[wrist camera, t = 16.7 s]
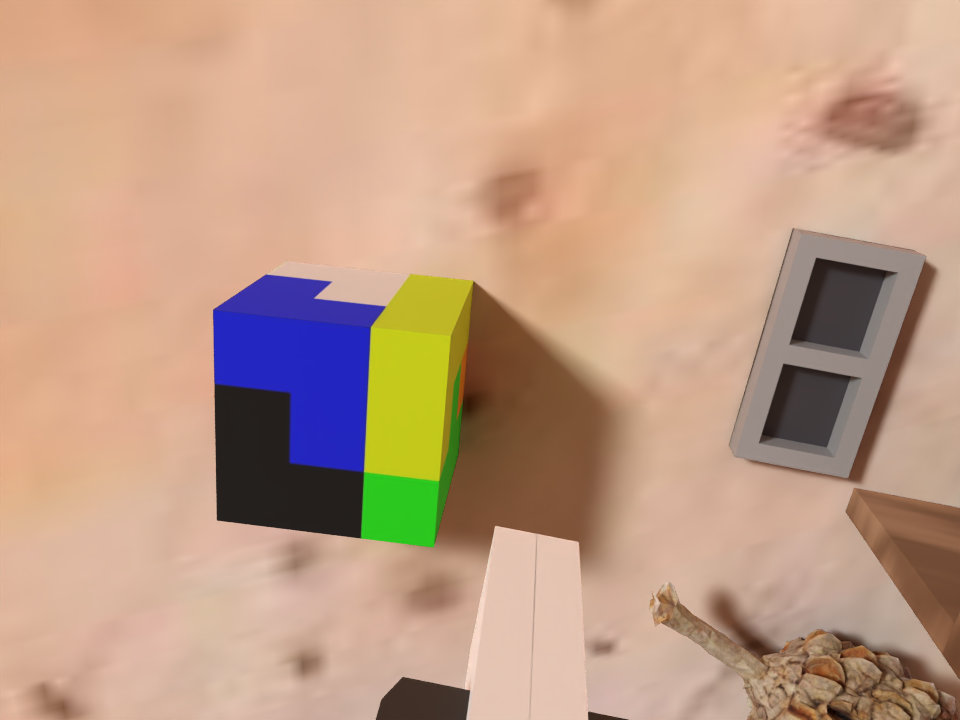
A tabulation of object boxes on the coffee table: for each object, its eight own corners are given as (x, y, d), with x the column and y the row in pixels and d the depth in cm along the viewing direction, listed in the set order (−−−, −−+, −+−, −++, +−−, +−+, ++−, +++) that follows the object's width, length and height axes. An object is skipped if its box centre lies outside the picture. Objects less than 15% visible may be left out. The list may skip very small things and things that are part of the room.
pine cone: (986, 678, 48) (1090, 822, 39) (878, 784, 51) (951, 941, 42) (668, 494, 46) (697, 599, 37) (576, 616, 49) (581, 741, 40)
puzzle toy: (287, 260, 44) (213, 309, 34) (473, 280, 43) (451, 336, 34) (284, 432, 47) (217, 520, 38) (458, 453, 47) (433, 547, 37)
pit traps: (838, 465, 45) (847, 478, 43) (728, 445, 45) (734, 456, 43) (913, 250, 41) (926, 256, 39) (793, 228, 41) (801, 233, 40)
